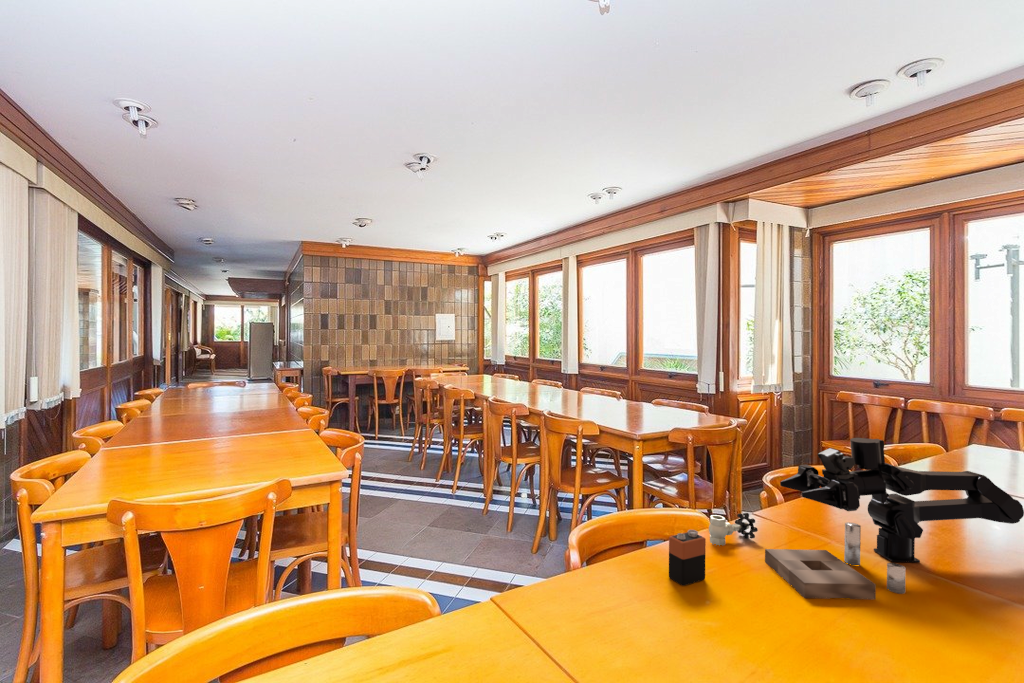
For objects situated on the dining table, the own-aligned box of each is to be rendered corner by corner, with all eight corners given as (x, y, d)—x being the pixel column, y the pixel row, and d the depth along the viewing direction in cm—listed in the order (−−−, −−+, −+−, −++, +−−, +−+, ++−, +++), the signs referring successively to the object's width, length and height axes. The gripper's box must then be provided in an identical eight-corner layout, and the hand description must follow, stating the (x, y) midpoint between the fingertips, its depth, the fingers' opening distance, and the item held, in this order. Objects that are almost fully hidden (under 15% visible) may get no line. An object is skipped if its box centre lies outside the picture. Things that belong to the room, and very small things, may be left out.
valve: (720, 549, 121) (757, 543, 125) (721, 522, 121) (758, 517, 125) (701, 539, 127) (737, 533, 132) (701, 513, 127) (737, 508, 132)
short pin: (897, 586, 103) (898, 562, 103) (909, 593, 100) (909, 569, 100) (883, 586, 104) (883, 562, 103) (894, 593, 101) (894, 569, 100)
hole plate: (825, 563, 114) (826, 550, 114) (875, 599, 98) (875, 584, 98) (764, 561, 114) (765, 549, 114) (804, 597, 98) (804, 582, 98)
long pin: (854, 560, 115) (854, 522, 115) (863, 566, 112) (863, 527, 112) (841, 560, 116) (841, 522, 116) (849, 566, 113) (850, 527, 112)
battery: (706, 580, 105) (706, 533, 105) (682, 587, 102) (683, 539, 102) (690, 571, 109) (691, 526, 109) (667, 578, 106) (667, 531, 106)
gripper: (827, 442, 127) (767, 447, 127) (881, 458, 109) (811, 464, 109) (832, 485, 127) (771, 490, 127) (887, 508, 108) (816, 515, 108)
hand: (791, 489), depth 118 cm, fingers open, 9 cm apart
